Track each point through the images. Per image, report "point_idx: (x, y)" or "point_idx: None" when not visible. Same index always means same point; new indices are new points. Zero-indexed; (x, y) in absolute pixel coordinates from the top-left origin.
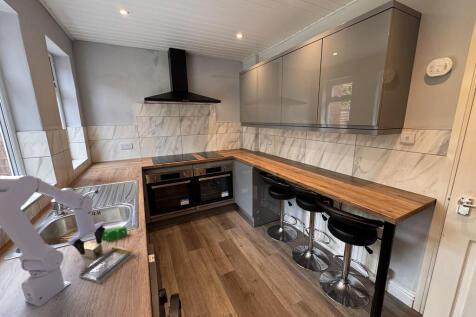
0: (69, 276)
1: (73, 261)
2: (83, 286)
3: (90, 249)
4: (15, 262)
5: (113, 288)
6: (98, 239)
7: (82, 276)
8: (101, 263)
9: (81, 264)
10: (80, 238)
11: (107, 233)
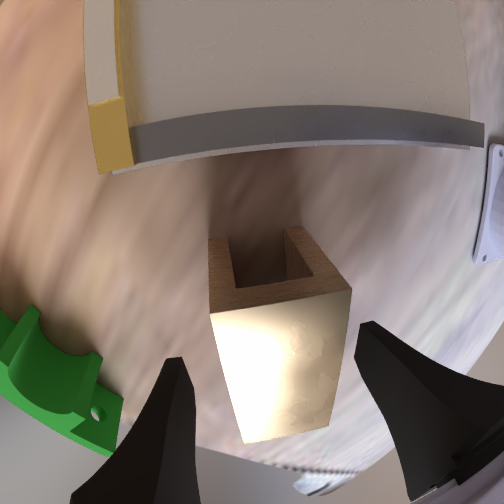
0: (456, 218)
1: (352, 347)
2: (476, 48)
3: (347, 322)
4: (369, 458)
5: None
6: (183, 414)
7: (468, 107)
8: (347, 67)
9: (370, 269)
10: (441, 490)
11: (75, 417)
